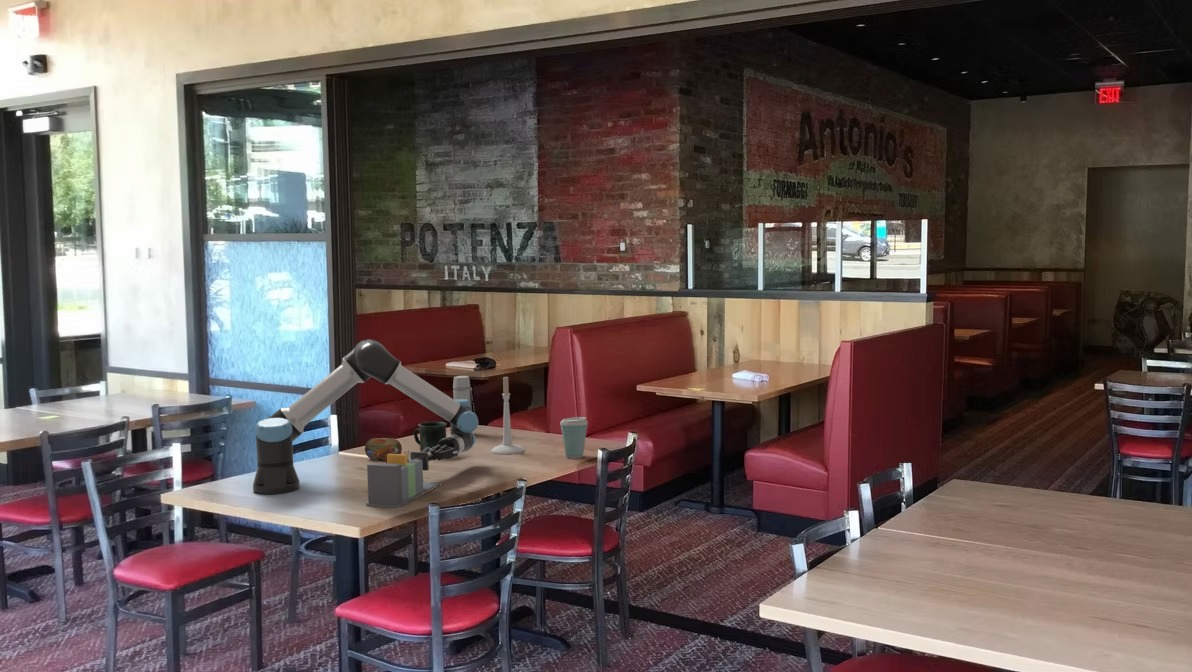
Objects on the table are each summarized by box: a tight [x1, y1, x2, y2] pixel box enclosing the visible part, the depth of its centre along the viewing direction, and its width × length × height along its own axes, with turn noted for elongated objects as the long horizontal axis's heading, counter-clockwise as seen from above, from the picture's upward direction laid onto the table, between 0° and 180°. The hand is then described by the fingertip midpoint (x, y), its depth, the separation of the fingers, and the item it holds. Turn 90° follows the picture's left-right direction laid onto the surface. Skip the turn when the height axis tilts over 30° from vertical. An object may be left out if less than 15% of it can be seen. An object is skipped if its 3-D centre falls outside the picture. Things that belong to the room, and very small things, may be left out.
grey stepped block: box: [366, 460, 443, 509], centre depth 334 cm, size 32×11×13 cm, turn 164°
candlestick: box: [490, 376, 525, 455], centre depth 403 cm, size 13×13×30 cm
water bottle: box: [452, 375, 476, 414], centre depth 443 cm, size 9×8×25 cm
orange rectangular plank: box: [386, 453, 407, 465], centre depth 329 cm, size 2×6×3 cm, turn 74°
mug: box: [413, 421, 448, 452], centre depth 402 cm, size 11×15×12 cm
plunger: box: [402, 449, 430, 471], centre depth 337 cm, size 17×6×8 cm, turn 164°
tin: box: [364, 437, 403, 461], centre depth 392 cm, size 15×3×8 cm, turn 71°
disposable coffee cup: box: [559, 416, 588, 459], centre depth 391 cm, size 11×11×15 cm
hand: (420, 460), depth 345 cm, fingers closed
